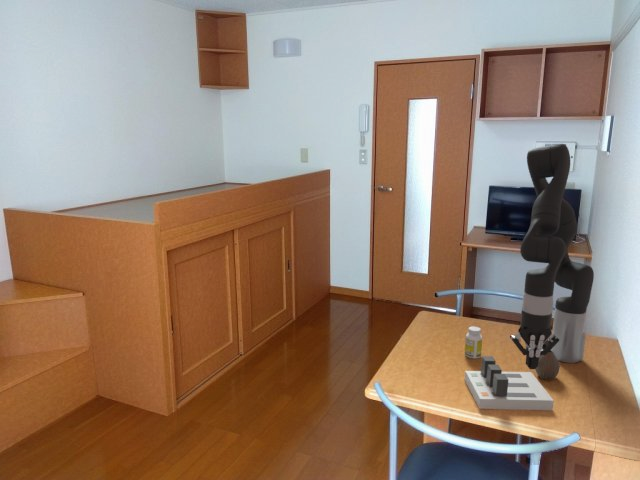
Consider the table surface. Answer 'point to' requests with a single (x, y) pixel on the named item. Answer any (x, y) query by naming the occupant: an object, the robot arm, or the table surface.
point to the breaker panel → (520, 390)
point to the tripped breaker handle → (500, 384)
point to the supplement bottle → (473, 342)
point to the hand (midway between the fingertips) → (531, 367)
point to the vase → (548, 366)
